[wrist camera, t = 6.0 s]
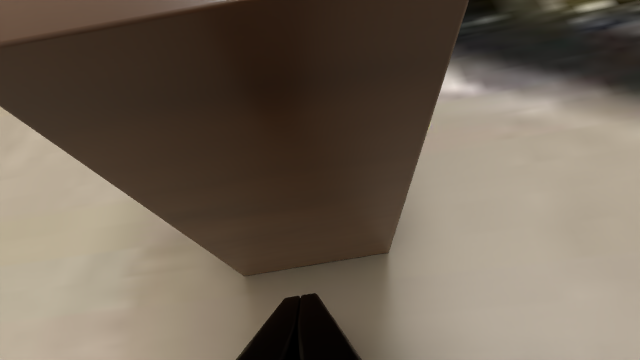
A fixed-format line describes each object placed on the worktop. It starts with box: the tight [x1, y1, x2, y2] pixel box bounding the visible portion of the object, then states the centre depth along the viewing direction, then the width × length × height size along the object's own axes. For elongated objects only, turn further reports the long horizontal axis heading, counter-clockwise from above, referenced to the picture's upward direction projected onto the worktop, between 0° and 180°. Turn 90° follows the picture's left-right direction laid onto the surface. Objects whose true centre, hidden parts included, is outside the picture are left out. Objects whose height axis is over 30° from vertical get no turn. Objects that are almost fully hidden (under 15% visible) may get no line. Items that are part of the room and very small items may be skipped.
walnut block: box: [0, 0, 469, 276], centre depth 12 cm, size 8×7×13 cm
